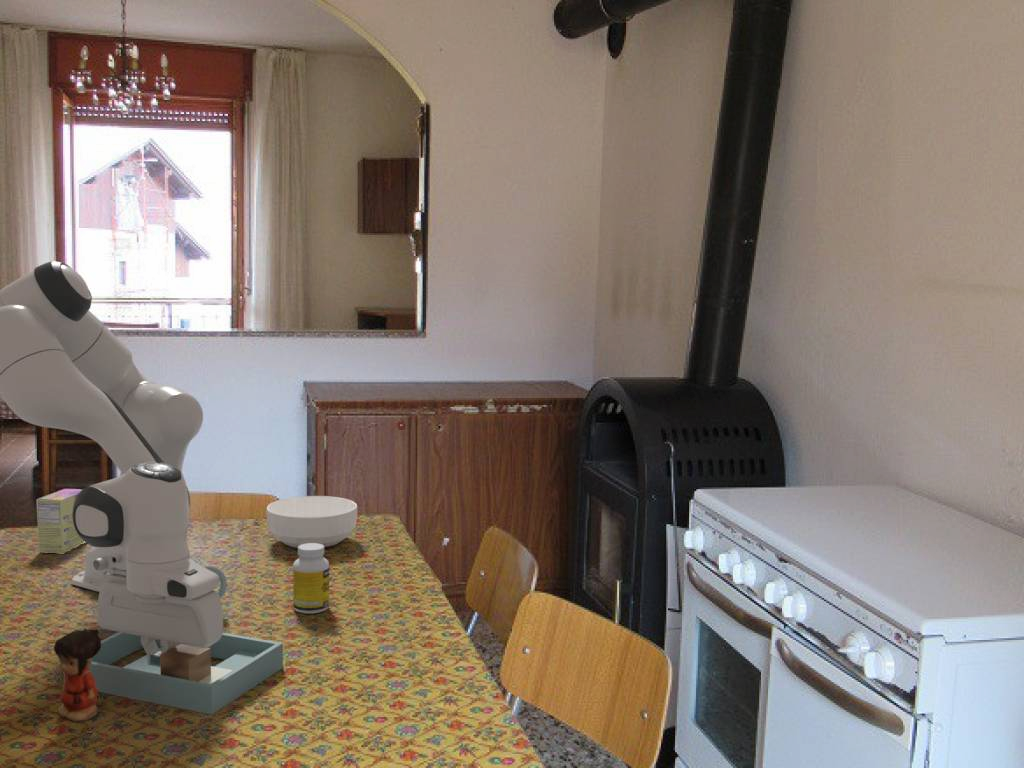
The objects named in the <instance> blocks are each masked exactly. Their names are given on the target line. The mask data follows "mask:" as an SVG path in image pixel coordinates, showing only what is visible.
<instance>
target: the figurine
mask: <svg viewBox="0 0 1024 768" xmlns="http://www.w3.org/2000/svg"><path fill="white" fill-rule="evenodd" d="M100 648H101V637H100V632H99V630H98V629H97V628H93V629H92V628H90V629H86V628H85V629H83V630H79V629H78V630H74V631H71V632H70V633H67V634H65V635H64V636H62V637H61V638H59V639H57V640H56V641H55V644H54V646H53V651H54V652H55V654H56V656H57V657H58V659H59V666H60V668H61V671H62V672H63V674H64V673H65V677H64V676H63V679H64V678H65V684H63V686H62V691H61V693H60V701H61V703H62V705H60V707H59V708H58V711H57V714H58V715H59V716H61V717H63V718H65V720H66V719H67V720H70V721H72V722H75V723H81V722H87V721H88V720H91V719H92V718H94V717H95V716H96V715H97V714H98V712H99V711H98V707H97V705H96V701H97V699H98V695H99V693H98V689H97V686H96V685H95V679H94V678H93V676H92V674H91V673H90V670H89V668H88V666H89V665H90V664H91V662H92V659H91V658H92V657H94V656H95V655H96V654H97V653H98V652H99V650H100Z"/></svg>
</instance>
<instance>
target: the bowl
mask: <svg viewBox="0 0 1024 768" xmlns="http://www.w3.org/2000/svg"><path fill="white" fill-rule="evenodd" d="M357 518H358V505H357V503H356V502H355V501H353V500H351V499H348V498H343V497H339V496H328V495H305V496H294V497H288V498H283V499H278V500H276V501H273V502H271V503H269V504H268V505H267V507H266V521H267V530H268V531H269V532H270V533H272V535H273V537H274V538H275V539H276V540H278V541H280V542H281V543H283V544H284V545H286V546H288V547H293V548H297V549H298V546H299V545H302V544H306V543H318V544H322V545H324V548H327V547H333V546H335V545H337V544H339V543H340V542H342V541H343V540H345V539H346V538H348V537H349V536H350V535H351V533H352V531H353V530H355V529H356V528H357V523H358V522H357V520H358V519H357Z"/></svg>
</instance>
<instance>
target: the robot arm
mask: <svg viewBox="0 0 1024 768" xmlns="http://www.w3.org/2000/svg"><path fill="white" fill-rule="evenodd" d="M92 299H93V296H92V293H91V291H90V289H89V287H88V285H87V282H86V281H85V279H84V278H83V277H82V276H81V275H80V274H79V272H77V271H76V270H75V269H73V268H72V267H71V266H70V265H68V264H67V263H65V262H61V261H55V260H53V261H52V260H51V261H48V262H45V263H42V264H40V265H39V266H36V267H35V268H34V269H33V271H31V272H29V273H26V274H24V275H23V276H21V277H19V278H17V279H16V280H14V281H12V282H11V283H9V284H7V285H6V286H4V287H3V288H1V289H0V395H1V397H2V398H3V400H4V402H5V404H6V405H7V406H8V408H9V409H10V410H11V411H12V412H13V413H14V414H15V415H16V416H17V417H18V418H20V419H21V420H22V421H24V422H26V423H29V424H31V425H34V426H38V427H42V428H50V429H57V430H62V431H63V430H64V431H68V432H72V433H76V434H78V435H82V436H85V437H87V438H89V439H91V440H92V441H94V442H96V443H97V444H98V445H99V446H100V447H101V448H102V449H103V450H104V452H105V453H106V454H107V456H108V457H109V458H110V459H111V461H112V462H113V463H114V465H115V466H116V468H118V470H119V472H120V474H119V476H117V477H114V478H112V479H108V480H104V481H101V482H98V483H94V484H91V485H89V486H86V487H83V488H82V490H81V491H80V493H79V494H78V496H77V497H76V499H75V502H74V505H73V512H72V516H73V523H74V527H75V530H76V532H77V533H78V535H79V536H80V538H81V539H82V540H83V541H85V542H86V543H85V544H88V545H89V546H91V548H90V549H89V550H88V552H87V554H86V556H85V561H84V570H83V571H80V572H78V573H76V574H75V575H73V577H72V578H71V585H74V586H76V587H80V588H84V589H87V590H91V591H94V592H97V593H99V595H98V600H97V609H96V611H97V613H96V620H97V623H98V625H99V627H100V628H101V629H103V630H107V631H113V632H115V633H118V632H122V633H127V634H132V635H138V636H141V644H142V646H143V648H142V649H144V651H145V653H146V655H148V665H151V666H157V667H161V662H160V655H161V654H163V653H165V652H167V651H169V650H170V649H172V648H174V647H175V646H176V645H177V643H180V644H185V645H191V646H196V647H201V648H207V647H209V646H211V645H213V644H214V643H216V642H218V641H219V639H220V638H221V637H222V634H223V633H224V614H223V605H222V599H220V597H219V595H218V592H217V591H216V589H218V588H220V587H219V586H220V579H219V576H218V575H217V574H216V573H214V572H212V571H210V570H208V569H206V568H205V567H203V566H204V565H203V566H202V564H201V565H199V564H198V563H196V562H195V561H194V560H192V559H190V558H191V557H190V547H189V544H188V541H187V537H188V530H189V528H190V506H191V496H190V492H189V489H188V486H187V482H186V479H185V477H184V474H183V472H182V471H183V466H184V462H185V461H184V460H185V458H186V454H187V451H188V447H189V446H190V445H189V444H190V443H191V442H192V440H193V439H194V438H196V436H197V435H198V434H199V432H200V430H201V429H202V425H203V421H204V413H203V411H204V410H203V409H202V405H201V403H200V402H199V401H198V399H196V397H194V396H192V394H190V393H188V392H186V391H185V390H182V389H181V388H179V387H176V386H170V385H165V384H161V383H156V382H154V381H152V380H150V379H148V378H146V377H145V375H143V374H142V373H141V372H140V370H139V369H138V367H137V366H136V364H135V363H134V361H133V355H132V352H131V350H130V349H129V348H128V347H127V346H126V345H125V344H124V342H122V341H121V340H120V339H119V338H118V337H117V336H116V334H114V333H113V332H112V331H111V330H110V329H109V328H108V327H107V326H106V325H105V324H104V323H103V322H102V321H101V320H100V319H99V318H98V317H97V316H96V315H94V313H92V312H91V311H90V309H91V305H92V301H93V300H92ZM156 639H159V640H160V644H161V646H164V648H163V650H162V651H159V647H158V646H157V644H156V641H155V640H156Z"/></svg>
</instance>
